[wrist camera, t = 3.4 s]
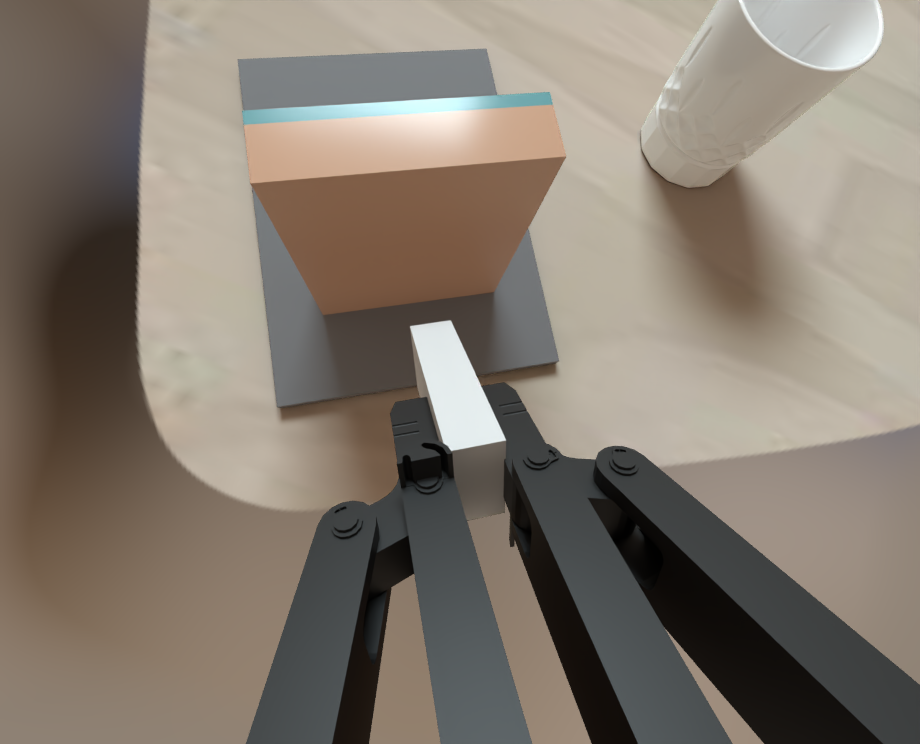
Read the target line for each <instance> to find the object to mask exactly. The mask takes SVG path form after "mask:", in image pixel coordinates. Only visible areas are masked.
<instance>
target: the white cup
mask: <svg viewBox="0 0 920 744" xmlns="http://www.w3.org/2000/svg"><path fill="white" fill-rule="evenodd" d="M883 34H884V20H883V14H882V10H881V7H880V4H879V2H878V0H717V2H716V4H715V5H714V7H713V8H712V10H711V11H710V13H709V15H708V16H707V18H706V19H705V21H704V23H703V24H702V26H701V27H700V29H699V30H698V32H697V34H696V35H695V37H694V38H693V40H692V42H691V43H690V45H689V46H688V48H687V49H686V51H685V53H684V54H683V56H682V58H681V59H680V61H679V62H678V64H677V66H676V67H675V69H674V71H673V73H672V75H671V76H670V78H669V79H668V81H667V83H666V84H665V86H664V88H663V91H662V94H661V96H660V97H659V99H658V100H657V102H656V103H655V105H654V106H653V108H652V109H651V111H650V113H649V114H648V116H647V118H646V120H645V122H644V124H643V126H642V128H641V147H642V151H643V152H644V154H645V156H646V158H647V160H648V162H649V164H650V166H651V167H652V168H653V169H654V170H655V171H656V172H658V173H659V174H660V175H661V176H662V177H664V178H665V179H666V180H667V181H669V182H672V183H675V184H678V185H681V186H684V187H687V188H692V187H703V186H709V185H710V184H712V183H713V182H715V181H716V180H718V179H719V178H720V177H722V176H723V175H725V174H726V173H727V172H728V171H730V170H731V169H732V168H733V167H734V166H736V165H737V164H738V163H739V162H741V161H742V160H744V159H746V158H748V157H749V156H751V155H752V154H753V153H755V152H756V151H757V150H758V149H759V148H760V147H762V146H763V145H765V144H767V143H768V142H769V141H770V140H772V139H773V138H774V137H775V136H777V135H778V134H779V133H780V132H782V131H783V130H784V129H785V128H787V127H788V126H789V125H790V124H792V123H793V122H794V121H795V120H797V119H798V118H799V117H800V116H802V115H803V114H804V113H805V112H807V111H808V110H809V109H810V108H811V107H813V106H814V105H815V104H816V103H818V102H819V101H820V100H821V99H823V98H824V97H825V96H826V95H827V94H829V93H830V92H831V91H832V90H834V89H835V88H836V87H837V86H839V85H840V84H841V83H842V82H844V81H845V80H846V79H847V78H849V77H850V76H851V75H852V74H854V73H855V72H856V71H857V70H859V69H860V68H861V67H862V66H864V65H865V64H866V63H867V62H869V61H870V60H871V59H872V58H873V57H874V55H875V54H876V53H877V51H878V49H879V47H880V45H881V42H882V39H883Z"/></svg>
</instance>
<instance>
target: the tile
mask: <svg viewBox="0 0 920 744" xmlns="http://www.w3.org/2000/svg"><path fill="white" fill-rule="evenodd" d="M242 113H243V122H244V131H245V140H246V149H247V158H248V166H249V175H250V184H251V185H252V187H253V189H254V191H255V193H256V194H257V196H258V198H259V200H260V202H261V203H262V205H263V207H264V209H265V211H266V213H267V214H268V216H269V218H270V220H271V222H272V223H273V225H274V227H275V229H276V231H277V233H278V234H279V236H280V238H281V240H282V242H283V243H284V245H285V247H286V249H287V251H288V252H289V254H290V256H291V258H292V260H293V262H294V263H295V265H296V267H297V269H298V271H299V272H300V274H301V276H302V278H303V280H304V281H305V283H306V285H307V287H308V289H309V291H310V292H311V294H312V296H313V298H314V300H315V301H316V303H317V305H318V307H319V309H320V311H321V312H322V314H323V315H327V314H335V313H342V312H350V311H357V310H365V309H372V308H380V307H387V306H395V305H402V304H410V303H417V302H425V301H432V300H440V299H447V298H455V297H462V296H469V295H477V294H484V293H492V292H494V291H495V289H496V288H497V286H498V284H499V282H500V280H501V278H502V276H503V274H504V273H505V271H506V269H507V267H508V265H509V263H510V261H511V259H512V257H513V256H514V254H515V252H516V250H517V248H518V246H519V244H520V242H521V241H522V239H523V237H524V235H525V233H526V231H527V229H528V227H529V225H530V224H531V222H532V220H533V218H534V216H535V214H536V212H537V210H538V209H539V207H540V205H541V203H542V201H543V199H544V197H545V195H546V194H547V192H548V190H549V188H550V186H551V184H552V182H553V180H554V178H555V177H556V175H557V173H558V171H559V169H560V167H561V165H562V163H563V162H564V160H565V158H566V154H565V150H564V146H563V142H562V138H561V134H560V130H559V126H558V122H557V119H556V115H555V111H554V107H553V103H552V99H551V95H550V92H543V93H526V94H510V95H493V96H476V97H460V98H443V99H427V100H410V101H394V102H377V103H361V104H344V105H327V106H311V107H294V108H278V109H261V110H245V111H242Z"/></svg>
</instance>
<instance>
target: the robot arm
mask: <svg viewBox="0 0 920 744" xmlns="http://www.w3.org/2000/svg"><path fill="white" fill-rule="evenodd" d="M410 331H411V339H412V347H413V355H414V364H415V372H416V380H417V388H418V392H419V396H420V398H416V399H411V400H405V401H399V402H395V404H394V406H393V408H392V411H391V413H390V416H391V422H392V429H393V435H394V442H395V449H396V455H397V467H398V473H399V479H398V482H397V485H396V486H395V488H394V489H393V491H392V492H391V493H390V494H388V495H387V496H386V497H384V498H383V499H381V500H380V501H378V502H376V503H374V504H372V505H370V506H369V505H367V504H365V503H364V502H358V501H349V502H343V503H340V504H338V505H336V506H334V507H332V508H331V509H330V510H329V511H328V512H326V514H324V515H323V517H322V519H321V520H320V522H319V524H318V527H317V529H316V532H315V536H314V539H313V541H312V544H311V547H310V550H309V554H308V557H307V560H306V563H305V566H304V569H303V572H302V575H301V578H300V581H299V584H298V587H297V590H296V593H295V596H294V599H293V602H292V605H291V608H290V611H289V614H288V618H287V620H286V624H285V627H284V630H283V633H282V636H281V639H280V642H279V645H278V648H277V651H276V654H275V657H274V660H273V663H272V666H271V669H270V672H269V676H268V678H267V682H266V684H265V688H264V691H263V694H262V697H261V700H260V703H259V706H258V709H257V712H256V715H255V718H254V721H253V724H252V727H251V730H250V733H249V736H248V739H247V742H246V744H369V739H370V732H371V725H372V718H373V711H374V704H375V698H376V691H377V684H378V677H379V670H380V663H381V656H382V650H383V643H384V635H385V629H386V622H387V615H388V607H389V601H390V595H391V587H392V586H394V585H396V584H397V583H399V582H401V581H402V580H404V579H406V578H407V577H409V576H411V575H412V574H415V581H416V587H417V594H418V600H419V607H420V613H421V620H422V626H423V633H424V639H425V645H426V652H427V658H428V664H429V671H430V678H431V684H432V691H433V697H434V704H435V710H436V717H437V723H438V729H439V736H440V742H441V744H532V741H531V738H530V735H529V731H528V728H527V724H526V721H525V718H524V714H523V711H522V708H521V704H520V700H519V697H518V694H517V690H516V687H515V684H514V680H513V677H512V673H511V670H510V666H509V663H508V659H507V656H506V653H505V649H504V646H503V642H502V639H501V636H500V632H499V629H498V625H497V622H496V618H495V615H494V612H493V608H492V605H491V601H490V598H489V595H488V591H487V588H486V584H485V581H484V578H483V574H482V571H481V567H480V564H479V560H478V557H477V553H476V550H475V547H474V543H473V540H472V536H471V533H470V530H469V527H468V523H467V521H469V520H473V519H478V518H483V517H487V516H492V515H496V514H501V513H504V512H505V502H506V504H507V507H508V510H509V512H510V534H509V535H510V536H509V540H510V547H513V546H514V540H515V541H516V544H517V547H518V550H519V552H520V555H521V558H522V560H523V563H524V566H525V568H526V571H527V573H528V576H529V579H530V581H531V584H532V587H533V589H534V591H535V595H536V597H537V600H538V603H539V605H540V608H541V611H542V613H543V616H544V618H545V621H546V624H547V626H548V629H549V632H550V634H551V637H552V640H553V642H554V645H555V647H556V650H557V653H558V656H559V658H560V661H561V663H562V666H563V669H564V671H565V674H566V677H567V679H568V682H569V685H570V687H571V690H572V693H573V695H574V698H575V701H576V703H577V706H578V709H579V711H580V714H581V716H582V719H583V722H584V724H585V727H586V730H587V732H588V735H589V738H590V740H591V743H592V744H732V742H731V740H730V739H729V737H728V735H727V734H726V732H725V730H724V728H723V727H722V725H721V724H720V722H719V720H718V718H717V717H716V715H715V713H714V712H713V710H712V708H711V707H710V705H709V703H708V701H707V700H706V698H705V696H704V695H703V693H702V691H701V689H700V688H699V686H698V684H697V683H696V681H695V679H694V678H693V676H692V674H691V673H690V671H689V669H688V667H687V666H686V664H685V662H684V661H683V659H682V657H681V656H680V654H679V652H678V651H677V649H676V647H675V645H674V644H673V642H672V640H671V639H670V637H669V635H668V634H667V632H666V630H667V631H668V632H669V633H670V634H671V636H672V637H673V638H674V639H675V640H676V641H677V643H678V644H679V645H680V646H681V647H682V648H683V649H684V651H685V652H686V653H687V654H688V655H689V657H690V658H691V659H692V660H693V661H694V662H695V664H696V665H697V666H698V667H699V668H700V669H701V671H702V672H703V673H704V674H705V675H706V676H707V678H708V679H709V680H710V681H711V682H712V683H713V684H714V686H715V687H716V688H717V689H718V690H719V691H720V693H721V694H722V695H723V696H724V697H725V698H726V700H727V701H728V702H729V703H730V704H731V705H732V707H734V709H735V710H736V711H737V712H738V714H739V715H740V716H741V717H742V718H743V719H744V721H745V722H746V723H747V724H748V725H749V726H750V727H751V729H752V730H753V731H754V732H755V733H756V735H757V736H758V737H759V738H760V739H761V740H762V742H763V743H764V744H920V685H919V684H918V683H917V682H916V681H914V680H913V679H912V678H911V677H910V676H908V675H907V674H906V673H905V672H904V671H902V670H901V669H900V668H899V667H898V666H896V665H895V664H894V663H893V662H892V661H890V660H889V659H888V658H887V657H885V656H884V655H883V654H882V653H881V652H879V651H878V650H877V649H876V648H875V647H873V646H872V645H871V644H870V643H869V642H867V641H866V640H865V639H864V638H862V637H861V636H860V635H859V634H858V633H857V632H855V631H854V630H853V629H852V628H850V627H849V626H848V625H847V624H846V623H845V622H843V621H842V620H841V619H840V618H838V617H837V616H836V615H835V614H834V613H833V612H831V611H830V610H829V609H828V608H827V607H825V606H824V605H823V604H822V603H821V602H819V601H818V600H817V599H816V598H814V597H813V596H812V595H811V594H810V593H808V592H807V591H806V590H805V589H804V588H802V587H801V586H800V585H799V584H798V583H796V582H795V581H794V580H793V579H792V578H790V577H789V576H788V575H787V574H786V573H784V572H783V571H782V570H781V569H779V568H778V567H777V566H776V565H775V564H773V563H772V562H771V561H770V560H768V559H767V558H766V557H765V556H764V555H763V554H762V553H760V552H759V551H758V550H757V549H755V548H754V547H753V546H752V545H751V544H749V543H748V542H747V541H746V540H745V539H743V538H742V537H741V536H740V535H739V534H737V533H736V532H735V531H734V530H733V529H731V528H730V527H729V526H728V525H727V524H725V523H724V522H723V521H722V520H720V519H719V518H718V517H717V516H716V515H715V514H713V513H712V512H711V511H710V510H708V509H707V508H706V507H705V506H704V505H702V504H701V503H700V502H699V501H698V500H696V499H695V498H694V497H693V496H692V495H690V494H689V493H688V492H687V491H685V490H684V489H683V488H682V487H681V486H680V485H678V484H677V483H676V482H675V481H674V480H672V479H671V478H670V477H669V476H668V475H666V474H665V473H664V472H663V471H661V470H660V469H659V468H658V467H657V466H656V465H654V464H653V463H652V462H651V461H650V460H648V459H647V458H646V457H645V456H643V455H642V454H640V453H639V452H637V451H636V450H634V449H630V448H627V447H624V446H611V447H607V448H604V449H603V450H602V451H600V452H599V453H598V455H597V458H596V460H593V459H576V458H569V457H566V456H563V455H562V454H561V453H560V452H559V451H558V450H557V449H556V448H554V447H553V446H551V445H549V444H546V443H545V441H544V440H543V438H542V436H541V434H540V433H539V431H538V429H537V427H536V425H535V424H534V422H533V420H532V418H531V417H530V415H529V413H528V412H527V410H526V408H525V406H524V404H523V403H522V401H521V399H520V397H519V396H518V394H517V392H516V390H514V389H513V388H511V387H510V386H509V385H507V384H506V383H498V384H492V385H486V386H481V385H480V383H479V380H478V378H477V376H476V374H475V372H474V370H473V367H472V365H471V363H470V361H469V359H468V357H467V354H466V352H465V350H464V348H463V346H462V344H461V341H460V339H459V337H458V335H457V333H456V331H455V329H454V326H453V324H452V322H451V320H449V321H442V322H435V323H428V324H421V325H414V326H410ZM663 626H664V627H663ZM665 629H666V630H665Z"/></svg>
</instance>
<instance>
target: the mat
mask: <svg viewBox="0 0 920 744" xmlns="http://www.w3.org/2000/svg"><path fill="white" fill-rule="evenodd" d="M238 66H239V75H240V84H241V93H242V102H243V110H244V111H245V110H261V109H278V108H294V107H311V106H327V105H344V104H361V103H377V102H394V101H410V100H427V99H443V98H460V97H476V96H493V95H497V92H496V88H495V83H494V79H493V75H492V71H491V66H490V62H489V58H488V53H487V49H468V50H445V51H422V52H398V53H375V54H352V55H328V56H305V57H282V58H258V59H238ZM252 190H253V199H254V207H255V216H256V225H257V234H258V243H259V251H260V260H261V269H262V278H263V287H264V295H265V304H266V313H267V322H268V331H269V339H270V348H271V357H272V366H273V375H274V383H275V392H276V401H277V407H278V408H285V407H291V406H297V405H303V404H309V403H315V402H322V401H328V400H334V399H340V398H346V397H352V396H358V395H364V394H370V393H376V392H383V391H389V390H395V389H401V388H407V387H413V386H417V380H416V372H415V364H414V355H413V347H412V339H411V331H410V326H414V325H421V324H428V323H435V322H442V321H449V320H451V322H452V324H453V326H454V329H455V331H456V333H457V335H458V337H459V339H460V341H461V344H462V346H463V348H464V350H465V352H466V354H467V357H468V359H469V361H470V363H471V365H472V367H473V370H474V372H475V374H476V376H480V375H486V374H492V373H498V372H504V371H511V370H517V369H523V368H529V367H535V366H541V365H547V364H553V363H557V362H558V361H559V359H558V354H557V350H556V346H555V342H554V337H553V333H552V329H551V324H550V320H549V316H548V311H547V307H546V303H545V299H544V294H543V290H542V286H541V281H540V277H539V273H538V268H537V264H536V260H535V255H534V251H533V247H532V243H531V238H530V234H529V230H528V229H527V231H526V233H525V235H524V237H523V239H522V241H521V242H520V244H519V246H518V248H517V250H516V252H515V254H514V256H513V257H512V259H511V261H510V263H509V265H508V267H507V269H506V271H505V273H504V274H503V276H502V278H501V280H500V282H499V284H498V286H497V288H496V289H495V291H494V292H492V293H484V294H477V295H469V296H462V297H455V298H447V299H440V300H432V301H425V302H417V303H410V304H402V305H395V306H387V307H380V308H372V309H365V310H357V311H350V312H342V313H335V314H327V315H323V314H322V312H321V311H320V309H319V307H318V305H317V303H316V301H315V300H314V298H313V296H312V294H311V292H310V291H309V289H308V287H307V285H306V283H305V281H304V280H303V278H302V276H301V274H300V272H299V271H298V269H297V267H296V265H295V263H294V262H293V260H292V258H291V256H290V254H289V252H288V251H287V249H286V247H285V245H284V243H283V242H282V240H281V238H280V236H279V234H278V233H277V231H276V229H275V227H274V225H273V223H272V222H271V220H270V218H269V216H268V214H267V213H266V211H265V209H264V207H263V205H262V203H261V202H260V200H259V198H258V196H257V194H256V193H255V191H254V189H253V187H252Z"/></svg>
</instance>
